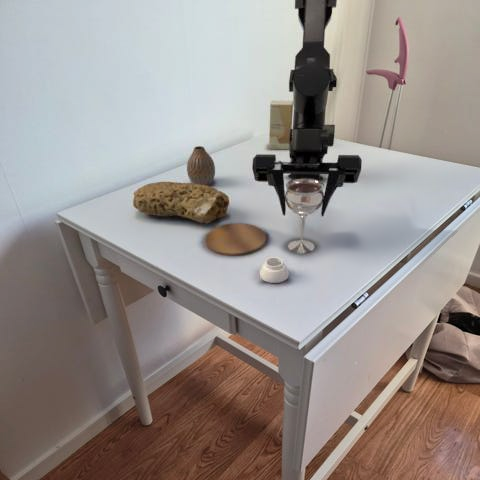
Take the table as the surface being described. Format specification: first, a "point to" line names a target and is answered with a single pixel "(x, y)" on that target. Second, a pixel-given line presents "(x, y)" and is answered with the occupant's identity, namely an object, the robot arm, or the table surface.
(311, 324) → the table surface
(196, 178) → the vase
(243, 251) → the coaster
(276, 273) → the lidless jar
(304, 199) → the wineglass
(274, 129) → the cosmetic box
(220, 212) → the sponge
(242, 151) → the table surface
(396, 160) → the table surface
